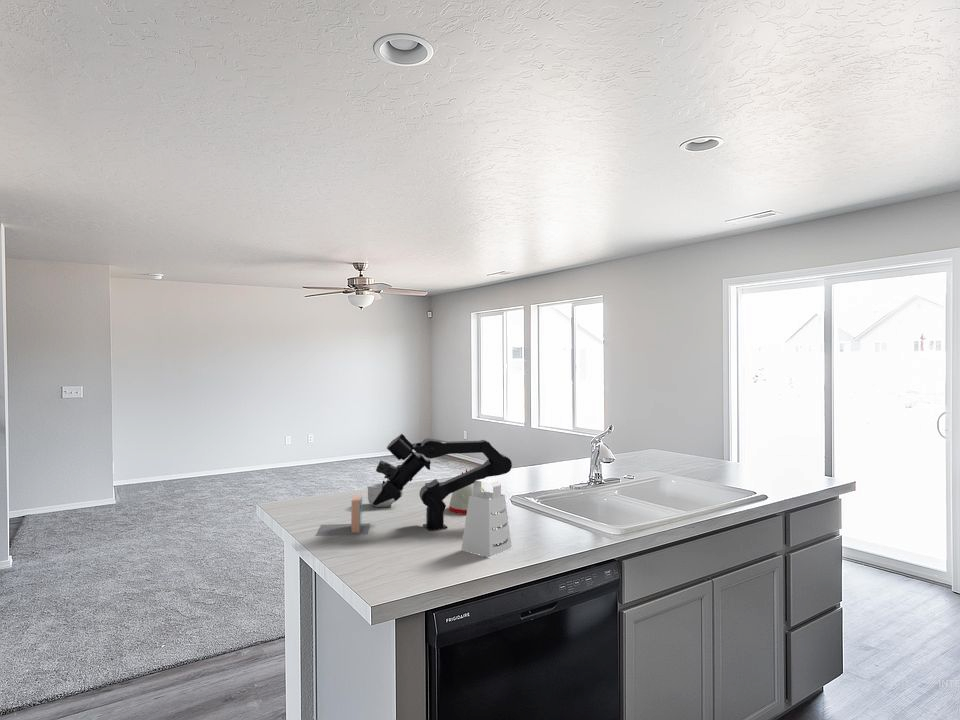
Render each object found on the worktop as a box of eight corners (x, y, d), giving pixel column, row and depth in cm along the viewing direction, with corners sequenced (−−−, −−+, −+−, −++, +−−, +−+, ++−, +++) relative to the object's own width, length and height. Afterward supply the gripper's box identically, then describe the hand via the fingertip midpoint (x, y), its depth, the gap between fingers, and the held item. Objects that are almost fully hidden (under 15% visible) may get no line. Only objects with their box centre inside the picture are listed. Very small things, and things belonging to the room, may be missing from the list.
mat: (370, 524, 190) (370, 523, 190) (367, 535, 178) (367, 534, 178) (321, 526, 188) (321, 524, 188) (315, 537, 176) (315, 535, 176)
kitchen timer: (486, 514, 204) (486, 472, 204) (448, 514, 204) (448, 472, 204) (486, 505, 218) (487, 465, 218) (451, 504, 218) (451, 465, 218)
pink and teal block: (361, 525, 188) (362, 494, 188) (359, 532, 180) (360, 500, 180) (353, 525, 187) (353, 495, 187) (351, 532, 179) (351, 500, 179)
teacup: (361, 507, 213) (361, 485, 213) (379, 500, 223) (379, 480, 223) (391, 511, 207) (391, 489, 207) (408, 505, 216) (409, 484, 216)
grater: (484, 541, 173) (484, 475, 173) (511, 548, 166) (512, 480, 166) (461, 550, 165) (461, 481, 165) (489, 558, 158) (490, 486, 158)
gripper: (391, 448, 194) (358, 481, 193) (390, 457, 176) (353, 493, 174) (414, 470, 195) (381, 503, 194) (415, 482, 177) (379, 518, 175)
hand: (373, 504), depth 184 cm, fingers closed
